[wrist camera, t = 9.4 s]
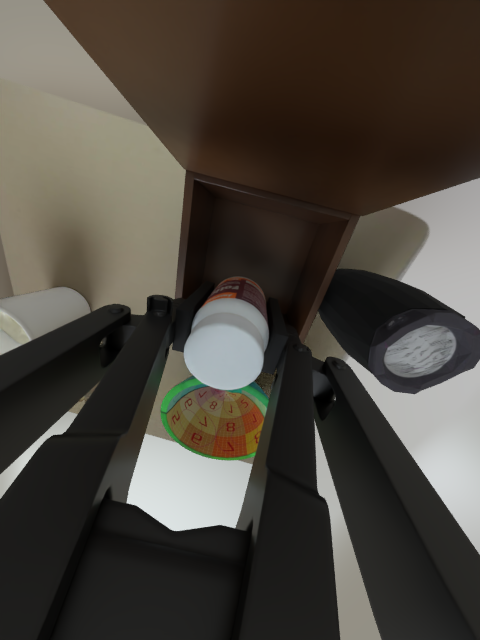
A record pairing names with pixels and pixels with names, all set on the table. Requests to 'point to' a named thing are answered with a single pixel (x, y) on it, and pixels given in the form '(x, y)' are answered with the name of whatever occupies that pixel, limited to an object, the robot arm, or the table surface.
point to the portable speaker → (398, 330)
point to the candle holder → (38, 314)
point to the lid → (300, 90)
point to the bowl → (215, 419)
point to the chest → (260, 244)
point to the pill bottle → (229, 335)
